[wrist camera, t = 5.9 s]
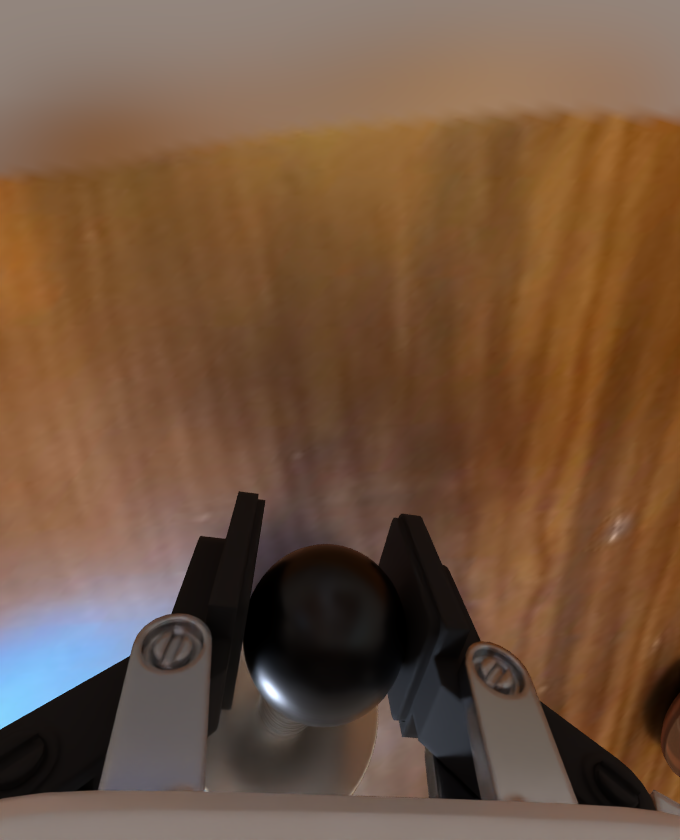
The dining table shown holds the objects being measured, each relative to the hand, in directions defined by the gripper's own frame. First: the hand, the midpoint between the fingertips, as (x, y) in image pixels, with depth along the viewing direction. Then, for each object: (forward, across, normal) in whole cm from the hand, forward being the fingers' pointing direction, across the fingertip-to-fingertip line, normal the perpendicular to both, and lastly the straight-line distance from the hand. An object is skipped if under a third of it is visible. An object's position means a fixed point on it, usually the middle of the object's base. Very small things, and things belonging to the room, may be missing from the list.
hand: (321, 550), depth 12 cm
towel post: (+4, 0, +16) cm, 16 cm away
